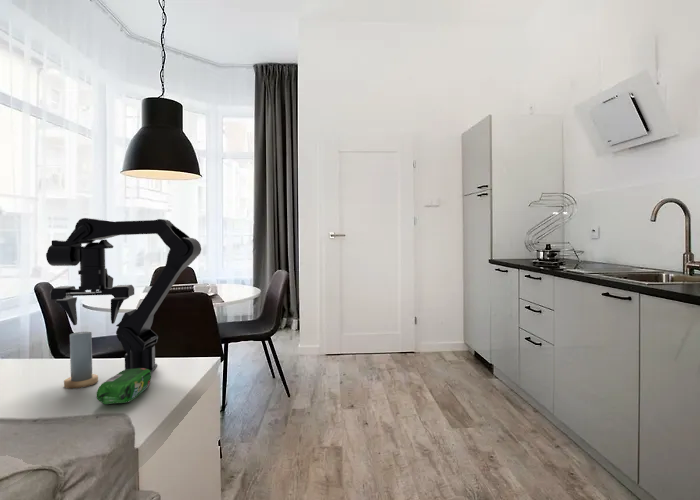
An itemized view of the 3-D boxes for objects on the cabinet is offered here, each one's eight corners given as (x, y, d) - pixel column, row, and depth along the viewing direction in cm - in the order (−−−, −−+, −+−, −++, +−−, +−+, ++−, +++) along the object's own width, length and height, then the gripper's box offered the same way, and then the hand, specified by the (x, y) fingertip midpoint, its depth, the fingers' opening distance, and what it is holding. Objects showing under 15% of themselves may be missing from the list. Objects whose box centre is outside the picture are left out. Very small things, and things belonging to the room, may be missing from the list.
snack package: (89, 412, 87) (89, 387, 87) (126, 385, 103) (126, 363, 103) (124, 412, 88) (124, 387, 87) (156, 385, 103) (156, 363, 103)
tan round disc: (102, 377, 108) (102, 373, 108) (91, 387, 101) (91, 382, 101) (72, 379, 107) (71, 374, 107) (58, 389, 100) (58, 384, 100)
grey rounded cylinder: (96, 375, 106) (95, 331, 106) (85, 381, 102) (84, 335, 101) (78, 375, 106) (77, 331, 106) (66, 381, 102) (65, 336, 101)
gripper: (139, 263, 122) (140, 317, 123) (67, 264, 119) (69, 319, 119) (127, 266, 111) (128, 325, 112) (47, 267, 108) (49, 328, 108)
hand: (94, 324), depth 113 cm, fingers open, 9 cm apart
